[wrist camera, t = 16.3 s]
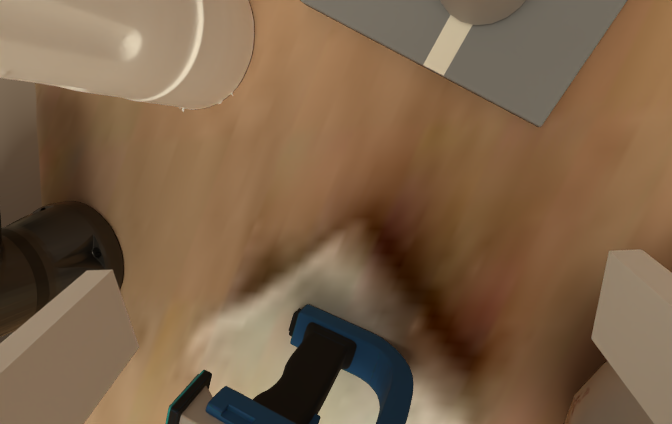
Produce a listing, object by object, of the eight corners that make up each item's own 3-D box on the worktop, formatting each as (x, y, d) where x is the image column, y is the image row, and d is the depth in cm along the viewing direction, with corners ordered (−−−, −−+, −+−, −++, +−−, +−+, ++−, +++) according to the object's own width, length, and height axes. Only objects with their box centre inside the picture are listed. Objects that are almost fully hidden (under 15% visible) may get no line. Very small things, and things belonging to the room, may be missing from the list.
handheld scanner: (287, 290, 46) (160, 401, 28) (425, 352, 42) (383, 529, 24) (278, 325, 47) (151, 452, 29) (411, 387, 43) (360, 580, 25)
